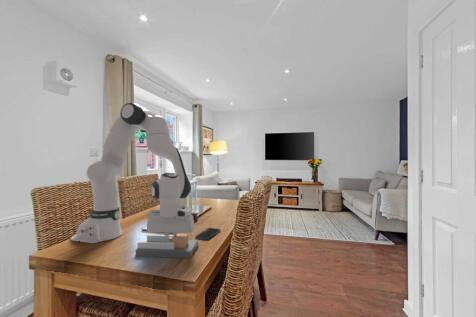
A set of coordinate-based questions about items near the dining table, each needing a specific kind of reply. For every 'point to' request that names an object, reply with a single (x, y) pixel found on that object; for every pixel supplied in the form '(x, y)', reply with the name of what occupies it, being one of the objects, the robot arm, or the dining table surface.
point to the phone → (207, 234)
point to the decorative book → (194, 216)
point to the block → (180, 240)
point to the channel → (164, 247)
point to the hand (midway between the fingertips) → (170, 242)
